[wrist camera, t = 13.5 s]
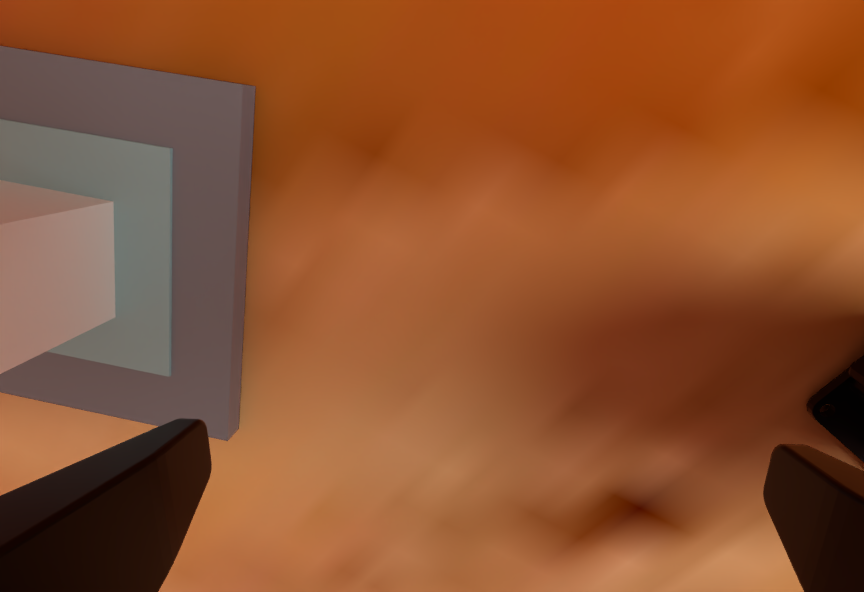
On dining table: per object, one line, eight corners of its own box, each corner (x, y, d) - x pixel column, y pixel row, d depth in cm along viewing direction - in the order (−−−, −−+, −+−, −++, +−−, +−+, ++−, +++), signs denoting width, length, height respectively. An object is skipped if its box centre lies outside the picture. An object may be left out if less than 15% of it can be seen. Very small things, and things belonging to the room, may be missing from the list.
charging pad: (255, 86, 20) (240, 84, 19) (238, 428, 24) (225, 442, 23) (-101, 29, 21) (-135, 24, 20) (-57, 365, 26) (-82, 376, 24)
